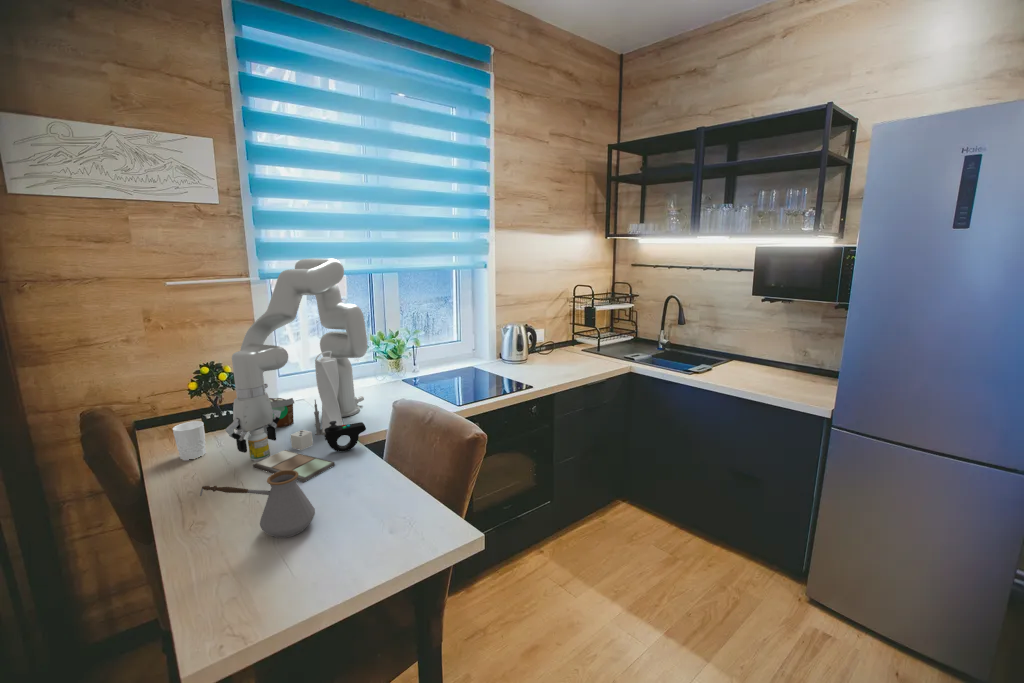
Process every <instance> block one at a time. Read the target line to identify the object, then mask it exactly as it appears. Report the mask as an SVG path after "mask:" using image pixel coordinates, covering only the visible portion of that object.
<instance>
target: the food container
mask: <svg viewBox="0 0 1024 683" xmlns="http://www.w3.org/2000/svg"><path fill="white" fill-rule="evenodd" d="M269 399H270V403H271V407H272V409H273V410H278V411H281V414H280V417H279V421H278V423H277V427H276V428H277V429H278V428H285V427H288V426H291V425H293V424H294V423H295V422H294V404H295V400H294V399H293V397H291V398H287V399H286V398H281V397H275V398H274V397H273V398H272V397H269ZM273 417H274V414H273ZM276 428H275V429H276Z"/></svg>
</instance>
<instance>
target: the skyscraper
mask: <svg viewBox="0 0 1024 683" xmlns="http://www.w3.org/2000/svg"><path fill="white" fill-rule="evenodd" d="M327 352H330V356H329V357H323V356H322V357H320V356H321V355H322V354H324V353H327ZM331 353H332V352H331V351H325V352H320V353H319V354H318V355H317V356H316V358H315V359H314V363H315V364H314V366H315V367H314V368H315V379H316V386H317V390H318V394H319V398H320V401H321V420H320V411H319V410H318V404H317V399H314V412H313V413H314V414H313V415H314V421H315V422H314V426H315V436H324V435H326V433H325V431H324V430H325V429H326V428H329V427H330V426H331V424H329V423H330V422H331V421H336V424H335V425H337V426H339V425H344V424H343V417H341V413H340V408H339V404H338V401H337V396H338V387H339V376H338V367H337V360H336V358H331ZM319 357H320V359H318V358H319ZM321 425H322V426H321Z"/></svg>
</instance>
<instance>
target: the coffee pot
mask: <svg viewBox="0 0 1024 683" xmlns="http://www.w3.org/2000/svg"><path fill="white" fill-rule="evenodd" d="M297 477H298V472H297V471H294V470H282V471H279V472H276V473H274V474H273V473H271V474H270V475H269V476H268V477H267V479H266V483H267V484H268V485H270V490H264V489H263V490H262V489H248V488H242V487H234V486H233V487H232V486H217V485H213V486H210V485H203V486H201V489H200V493H199V496H200V497H202V495H203V491H212V492H221V493H226V494H255V495H263V496H265V495H266V496H268V497H267V499H266V502H265V505H264V508H263V511H262V514H261V517H260V520H259V527H260V528H261V530H262V531H263V532H264V533H265V534H267V535H269V536H271V537H273V538H277V539H285V538H291V537H294V536H297V535H299V534H300V533H302V532H303V531H305V529H306V528H308V526H309V525H310V524H311V523H312V522H313V520H314V518H315V514H316V508H315V507H314V505H313V504H312V502H311V501H310V500H309V498H308V496H306V494H305V493H304V491H303V489H302V488H301V487H300V485H299V484H298V483H297V480H296V479H297Z"/></svg>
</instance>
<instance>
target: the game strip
mask: <svg viewBox="0 0 1024 683" xmlns="http://www.w3.org/2000/svg"><path fill="white" fill-rule="evenodd" d="M334 465H336V463H335V461H331V460H327V459H323V458H319V457H316V456H311V455H307V454H304V453H300V452H296V451H292V450H288V449H283V450H281V451H279V452H277V453H275V454H273V455H271V456H269V457H268V458H266V459H264V460H260V461H256V463H254V464H252V468H253V469H257V470H260V471H263V470H264V471H263V472H266V471H267V473H271V474H273V473H276V472H279V471H282V470H294V471H297V472H298V477H297V479H296V481H297V480H298V481H297V482H301V481H302V482H301V483H305V482H307V481H308V480H311V479H313V478H314V476H315V477H316V476H318V475H320V474H322V473H324V472H325V471H327V470H329V469H331V468H332V466H333V467H334ZM330 467H331V468H330ZM328 468H329V469H328ZM323 471H324V472H323ZM321 472H322V473H321ZM312 477H313V478H312ZM310 478H311V479H310ZM306 480H307V481H306Z"/></svg>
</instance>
